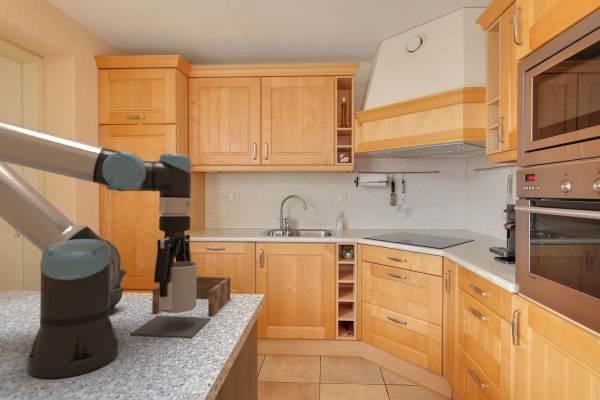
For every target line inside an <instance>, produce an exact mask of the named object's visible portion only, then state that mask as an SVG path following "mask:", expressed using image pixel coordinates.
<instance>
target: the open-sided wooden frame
mask: <svg viewBox="0 0 600 400" xmlns="http://www.w3.org/2000/svg"><path fill="white" fill-rule="evenodd" d="M197 299H202V300H208V304H207V305H208V308H207V311H208V312H207V313H208V314H207V315H208V316H207V317H213V316H215V315H216V313H218V312H219V310H220V309H222V308H223V307H224V305H226V304H227V302H229V301H230V300H231V277H228V276H227V277H224V276H199V275H197V277H196V300H197ZM151 301H152V304H151V306H152V307H151V309H152V311H151V312H152V313H151V314H152V315H157V314H159V313H160V312H161V311H162V310H159V285H157V286H156V287H154V288H153V289H152V300H151ZM162 312H163V311H162Z"/></svg>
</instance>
